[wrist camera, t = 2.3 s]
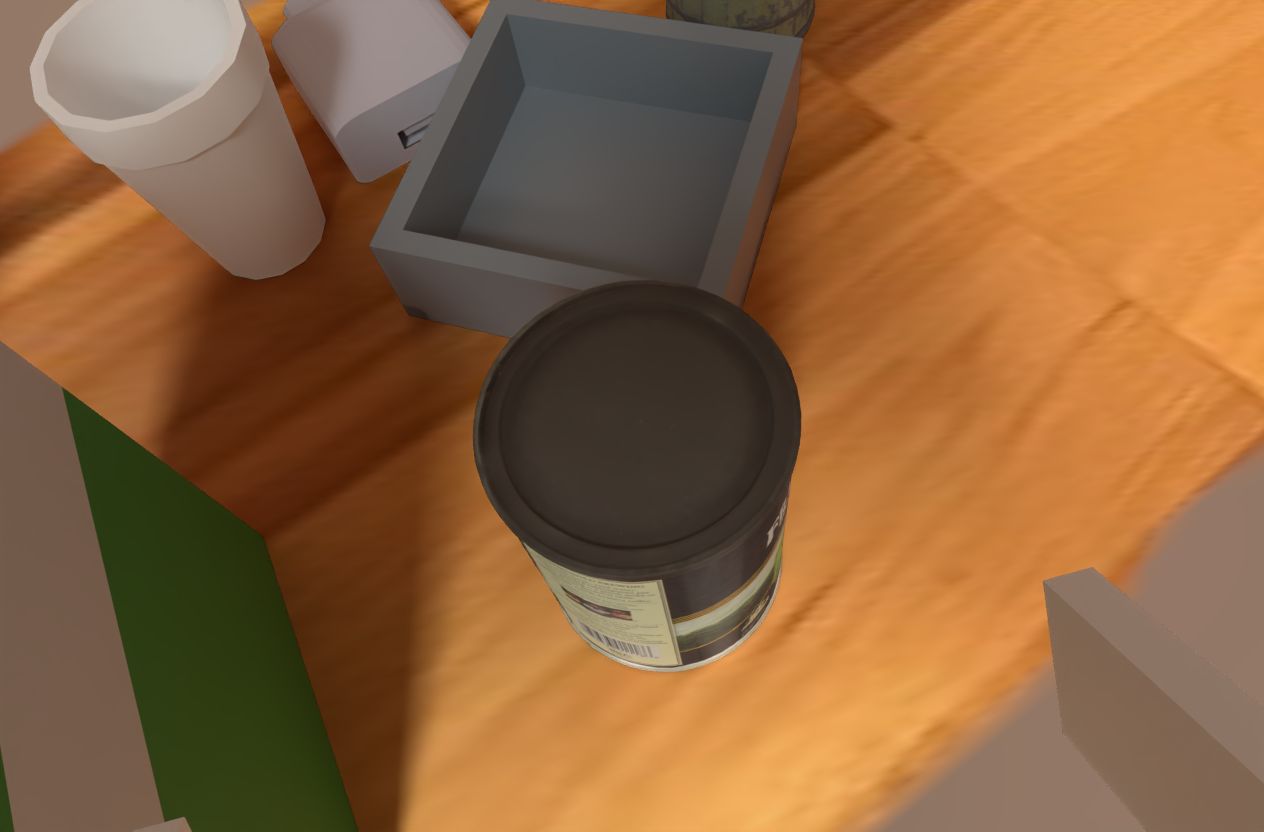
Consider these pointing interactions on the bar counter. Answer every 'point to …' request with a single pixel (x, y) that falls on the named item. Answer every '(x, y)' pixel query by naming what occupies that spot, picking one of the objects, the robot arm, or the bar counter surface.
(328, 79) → the charger
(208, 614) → the hardback book
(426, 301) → the tray
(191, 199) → the foam cup
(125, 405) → the bar counter surface
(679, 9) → the thermos
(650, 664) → the coffee can
